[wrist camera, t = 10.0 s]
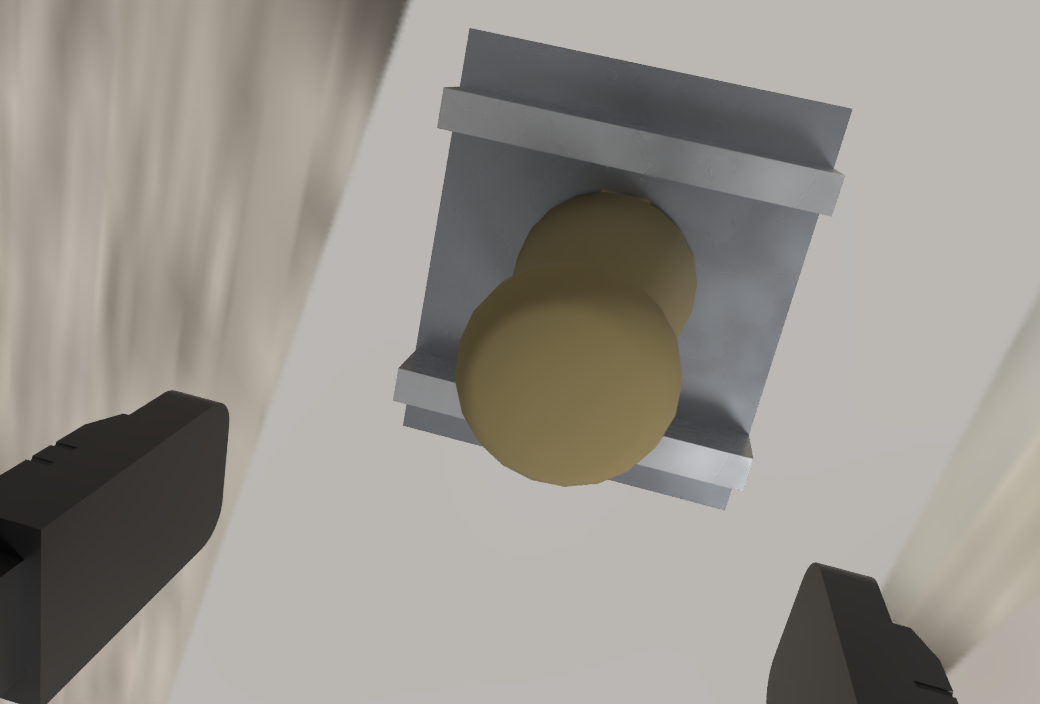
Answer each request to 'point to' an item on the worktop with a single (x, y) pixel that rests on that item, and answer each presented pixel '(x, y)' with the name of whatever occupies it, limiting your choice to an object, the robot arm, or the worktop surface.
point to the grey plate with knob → (653, 179)
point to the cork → (581, 343)
